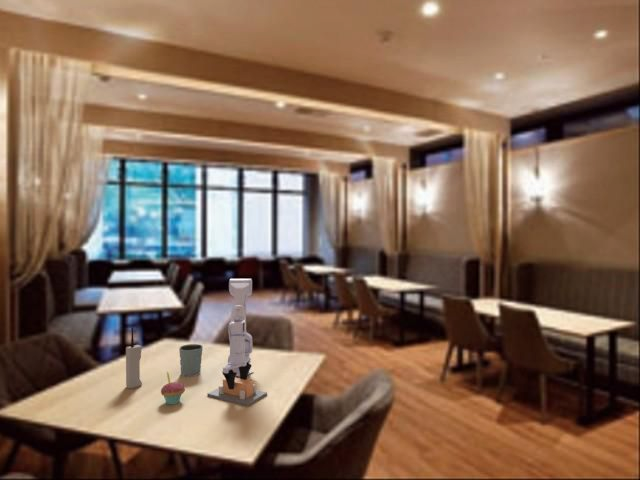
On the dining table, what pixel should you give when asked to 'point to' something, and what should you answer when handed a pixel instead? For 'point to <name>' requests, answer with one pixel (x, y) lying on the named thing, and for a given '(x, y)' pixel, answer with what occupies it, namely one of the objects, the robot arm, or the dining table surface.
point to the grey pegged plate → (236, 399)
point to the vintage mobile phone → (133, 365)
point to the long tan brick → (239, 387)
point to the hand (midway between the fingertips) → (237, 385)
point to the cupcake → (172, 391)
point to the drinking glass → (190, 359)
